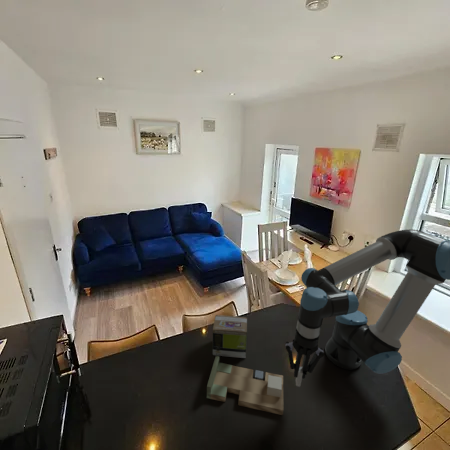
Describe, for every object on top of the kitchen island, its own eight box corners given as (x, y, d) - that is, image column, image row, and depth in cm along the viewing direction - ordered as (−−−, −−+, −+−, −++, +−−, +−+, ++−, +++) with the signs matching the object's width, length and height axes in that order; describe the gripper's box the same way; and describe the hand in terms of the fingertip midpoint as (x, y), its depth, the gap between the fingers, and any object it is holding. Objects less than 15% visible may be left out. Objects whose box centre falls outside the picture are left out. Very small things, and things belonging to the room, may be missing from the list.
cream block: (280, 385, 98) (281, 377, 97) (280, 397, 94) (281, 389, 93) (267, 382, 99) (268, 375, 98) (266, 394, 95) (267, 386, 93)
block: (262, 377, 104) (263, 371, 103) (262, 384, 101) (262, 378, 100) (255, 375, 105) (255, 369, 104) (254, 382, 102) (254, 376, 101)
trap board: (282, 380, 103) (284, 369, 101) (282, 415, 90) (284, 403, 88) (215, 366, 108) (215, 355, 106) (206, 397, 95) (206, 386, 93)
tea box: (246, 341, 122) (247, 316, 117) (245, 359, 113) (247, 332, 108) (215, 338, 123) (215, 313, 118) (212, 355, 114) (212, 329, 109)
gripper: (326, 327, 87) (315, 377, 95) (287, 320, 90) (279, 370, 98) (330, 343, 80) (317, 396, 88) (288, 335, 83) (279, 388, 91)
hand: (297, 383), depth 93 cm, fingers closed
